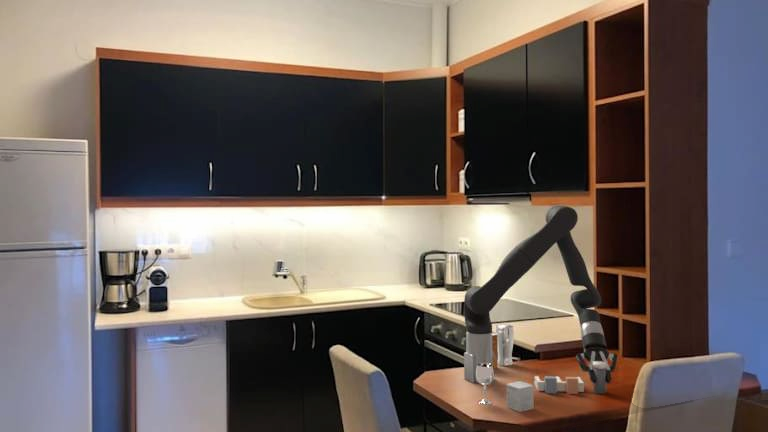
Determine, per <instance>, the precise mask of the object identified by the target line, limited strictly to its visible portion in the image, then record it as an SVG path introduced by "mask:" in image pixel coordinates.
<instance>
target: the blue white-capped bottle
mask: <svg viewBox="0 0 768 432" xmlns="http://www.w3.org/2000/svg"><path fill="white" fill-rule="evenodd" d="M607 362H608V361H607ZM607 362H604V361H593V370H594V373H595V378H596V382H595V383H593V393H595V394H596V395H605V394H607V382H606V368H607Z"/></svg>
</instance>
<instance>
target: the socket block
mask: <svg viewBox="0 0 768 432" xmlns="http://www.w3.org/2000/svg"><path fill="white" fill-rule="evenodd" d="M533 384H534V387H535V388H536V390H537V392H545V394H557V393H558V392H565V393H566V394H568V395H572V394H573V395H579V393H580V392H581V393H583V392H585V386H584V385H585V382H584V380H582V378H581V377H580V376H565V381H562V379H561V378H560V376H551V375H550V376H547V375H544V380H541V379H540V377H539V375H534V381H533Z"/></svg>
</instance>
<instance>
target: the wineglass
mask: <svg viewBox="0 0 768 432" xmlns="http://www.w3.org/2000/svg"><path fill="white" fill-rule="evenodd" d="M494 379H495V371H494V369H493V367H492V364H489V363H479V364H478V365H477V369H476V380H477V381H478V382H477V383H479V384H480V385H483V395H484V397H483V399H480V400H478V401H477V403H478V402H479V403H478V404H480V403H481V404H480V405H485V404H486V405H491V404H492V403H493V401H492V400H489V399H487V395H486V393H487V386H489V385H491V384H492V383H493V382H494Z"/></svg>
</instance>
